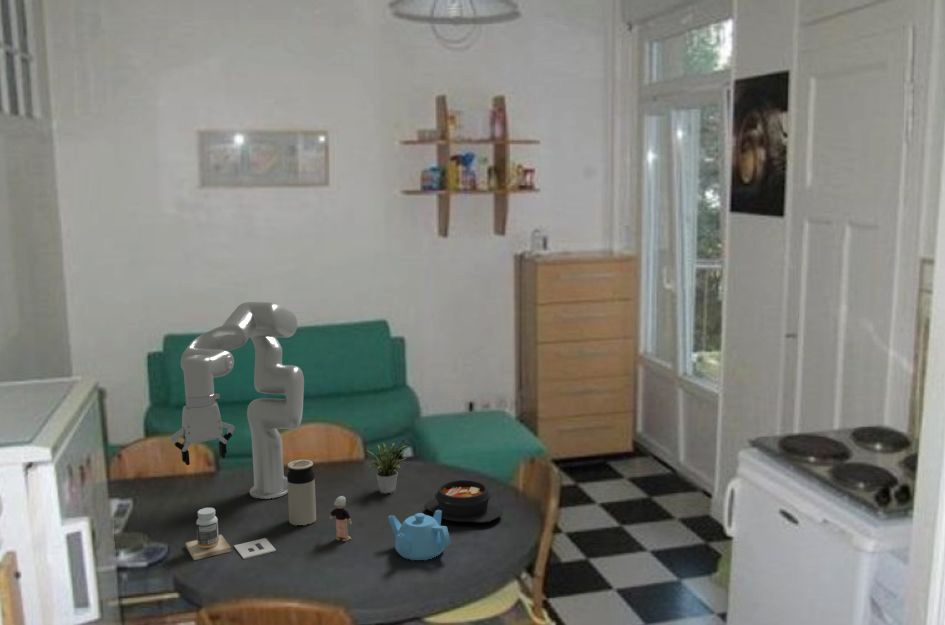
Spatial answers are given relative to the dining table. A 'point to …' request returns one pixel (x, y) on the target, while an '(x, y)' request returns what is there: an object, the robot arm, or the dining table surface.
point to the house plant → (387, 468)
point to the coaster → (207, 549)
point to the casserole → (464, 502)
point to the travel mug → (301, 492)
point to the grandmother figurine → (341, 518)
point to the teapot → (420, 536)
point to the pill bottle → (207, 528)
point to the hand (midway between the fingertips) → (204, 460)
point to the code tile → (254, 548)
